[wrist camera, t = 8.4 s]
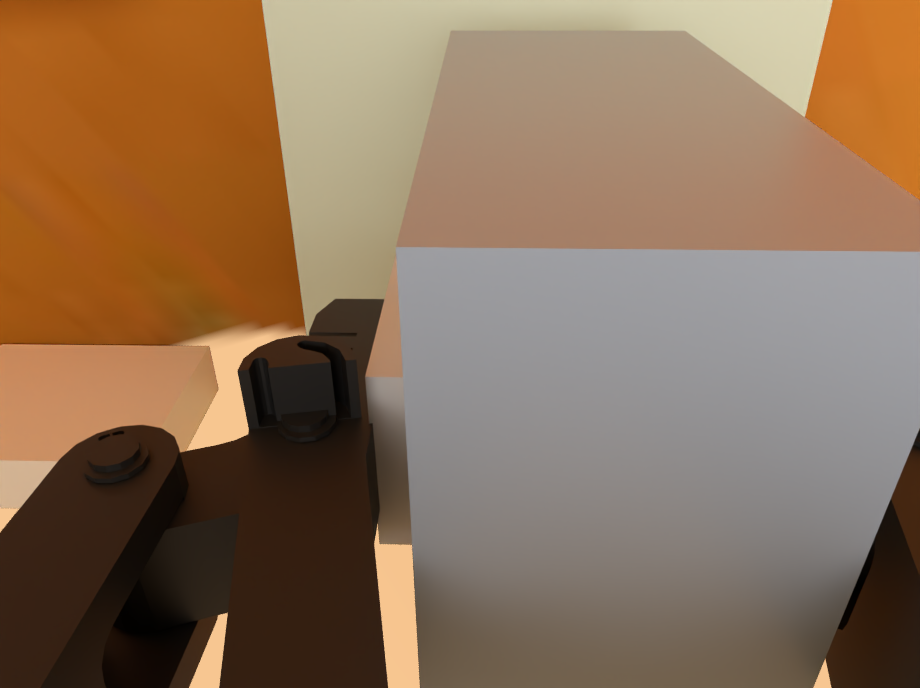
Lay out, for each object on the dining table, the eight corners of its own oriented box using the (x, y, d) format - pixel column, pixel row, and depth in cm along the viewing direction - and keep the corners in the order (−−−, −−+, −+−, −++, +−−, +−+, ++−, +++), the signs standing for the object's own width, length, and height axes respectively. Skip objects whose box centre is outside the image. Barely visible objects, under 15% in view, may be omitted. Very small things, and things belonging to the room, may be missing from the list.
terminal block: (454, 404, 17) (428, 831, 9) (451, 30, 13) (395, 247, 5) (630, 407, 17) (749, 842, 9) (684, 30, 13) (992, 251, 5)
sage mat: (324, 430, 23) (320, 443, 22) (239, -229, 14) (230, -234, 14) (719, 435, 22) (725, 448, 22) (874, -235, 14) (889, -240, 13)
